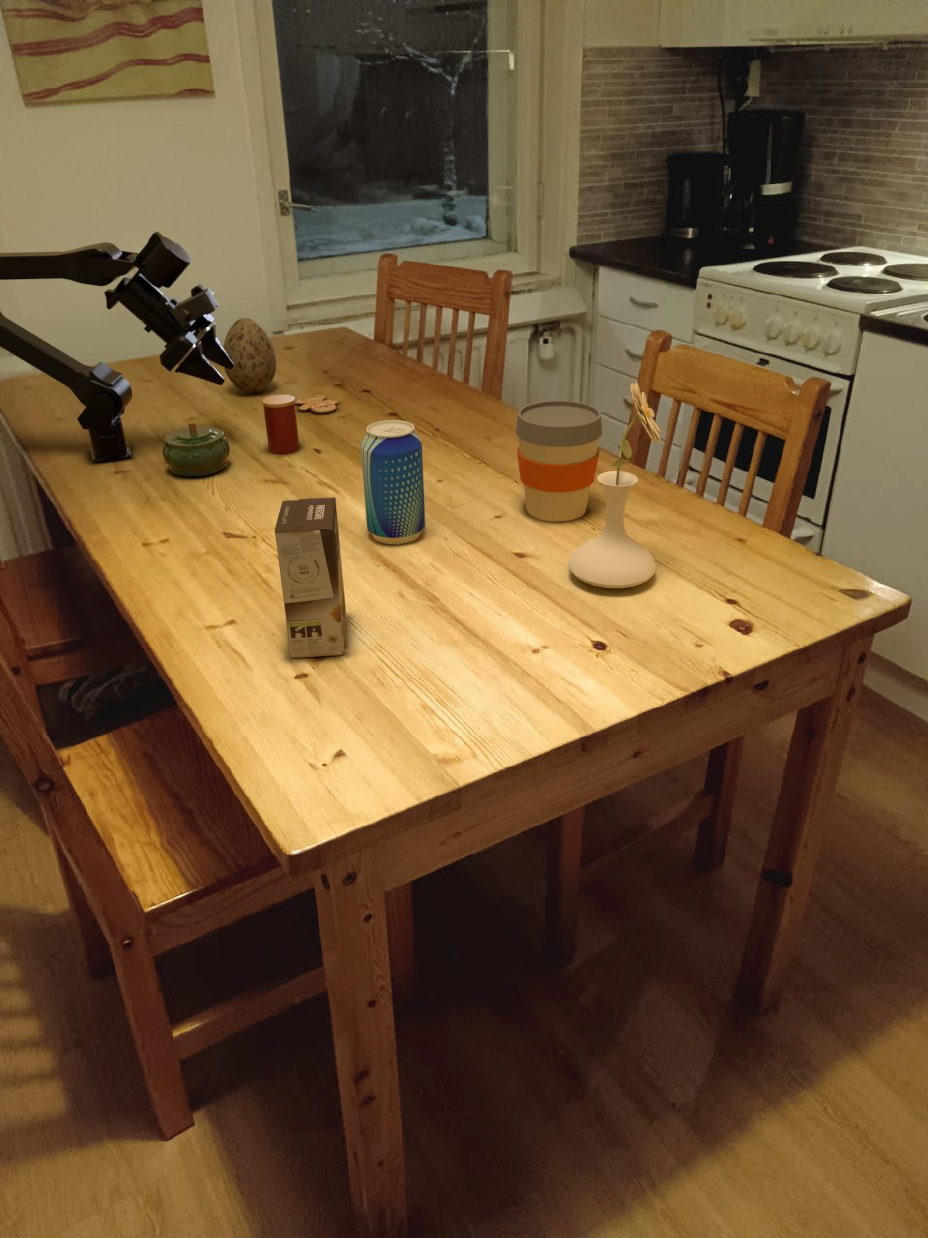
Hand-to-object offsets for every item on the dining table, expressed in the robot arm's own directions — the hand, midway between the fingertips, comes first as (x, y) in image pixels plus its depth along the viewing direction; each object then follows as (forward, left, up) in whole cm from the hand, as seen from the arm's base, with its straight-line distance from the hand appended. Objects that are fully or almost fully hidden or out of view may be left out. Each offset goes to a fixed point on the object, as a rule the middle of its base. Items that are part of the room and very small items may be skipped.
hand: (228, 375), depth 163 cm
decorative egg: (-35, +9, -14) cm, 39 cm away
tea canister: (+2, +8, -14) cm, 16 cm away
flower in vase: (+67, +39, -14) cm, 78 cm away
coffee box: (+68, -1, -14) cm, 69 cm away
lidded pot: (+6, -8, -14) cm, 17 cm away
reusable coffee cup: (+45, +41, -14) cm, 62 cm away
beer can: (+44, +16, -14) cm, 49 cm away
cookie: (-19, +19, -14) cm, 30 cm away
